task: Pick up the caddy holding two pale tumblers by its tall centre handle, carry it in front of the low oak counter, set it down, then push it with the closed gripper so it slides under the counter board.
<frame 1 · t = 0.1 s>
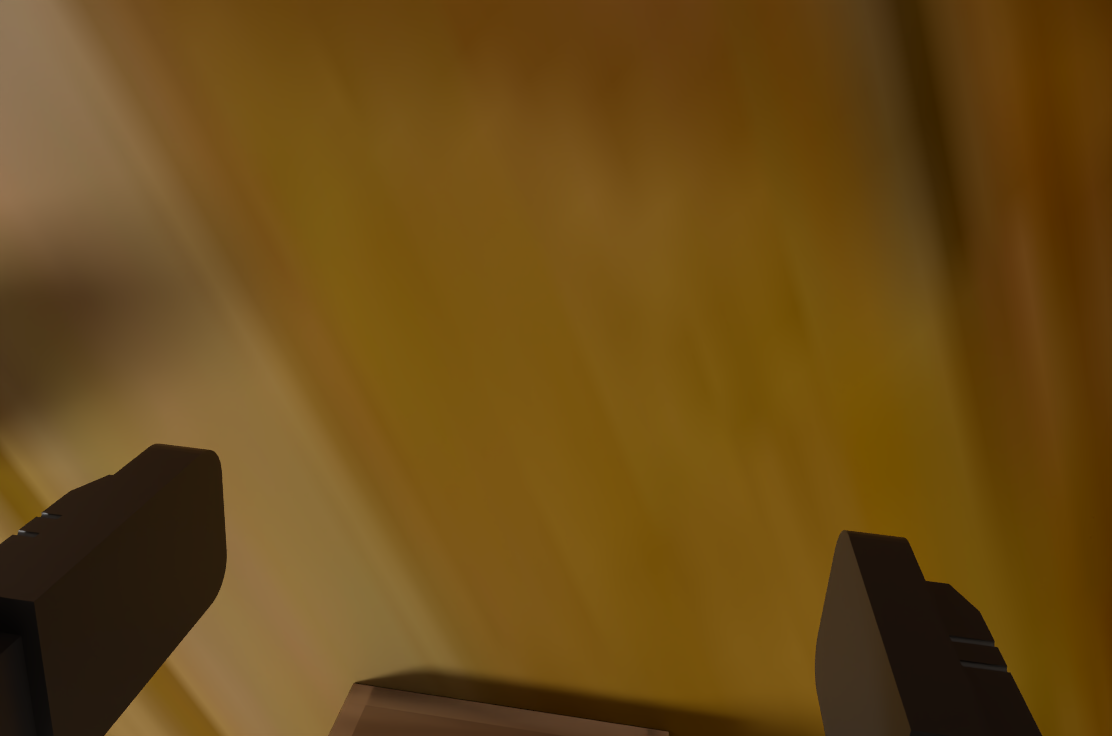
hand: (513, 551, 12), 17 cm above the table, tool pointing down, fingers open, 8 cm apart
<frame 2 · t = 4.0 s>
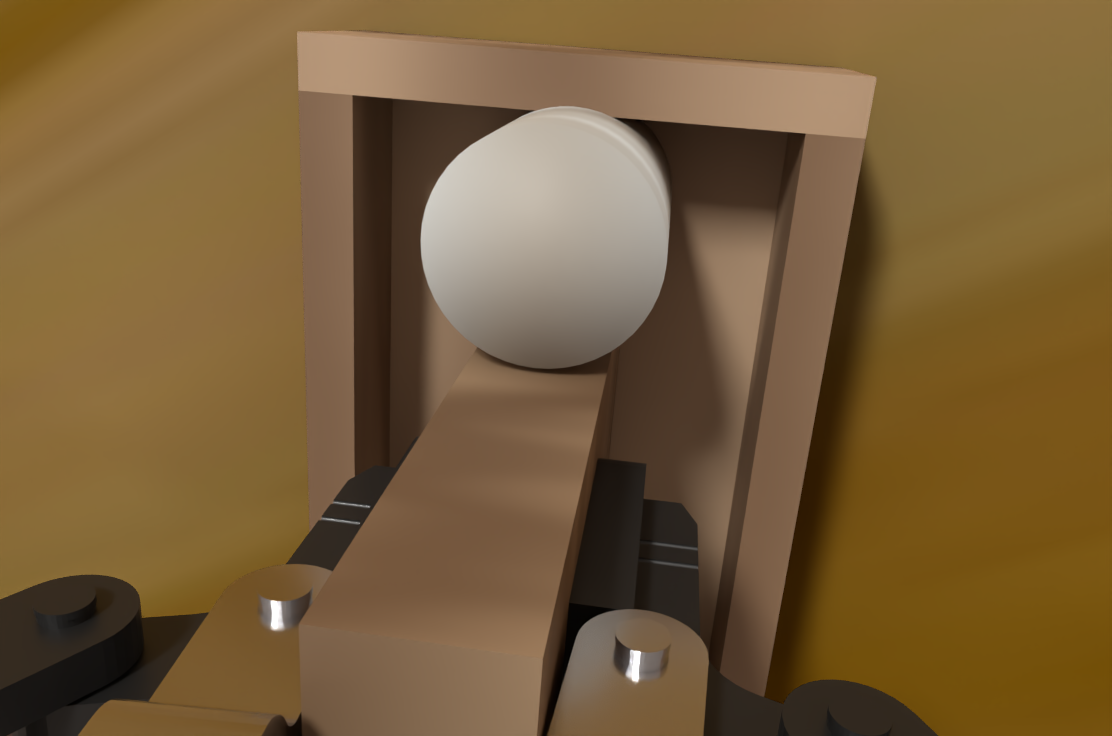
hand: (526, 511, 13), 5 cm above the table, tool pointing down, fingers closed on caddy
caddy: (570, 382, 18), on the table, touching gripper
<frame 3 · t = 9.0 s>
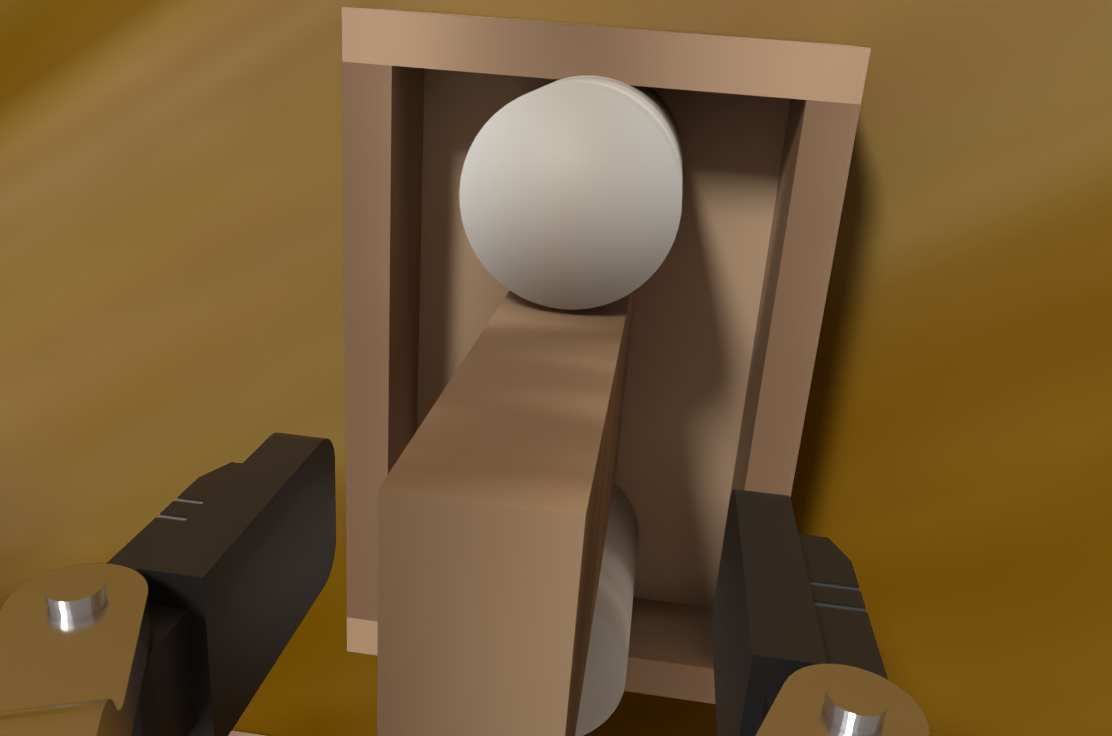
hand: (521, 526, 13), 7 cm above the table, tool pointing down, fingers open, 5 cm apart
caddy: (585, 341, 19), on the table
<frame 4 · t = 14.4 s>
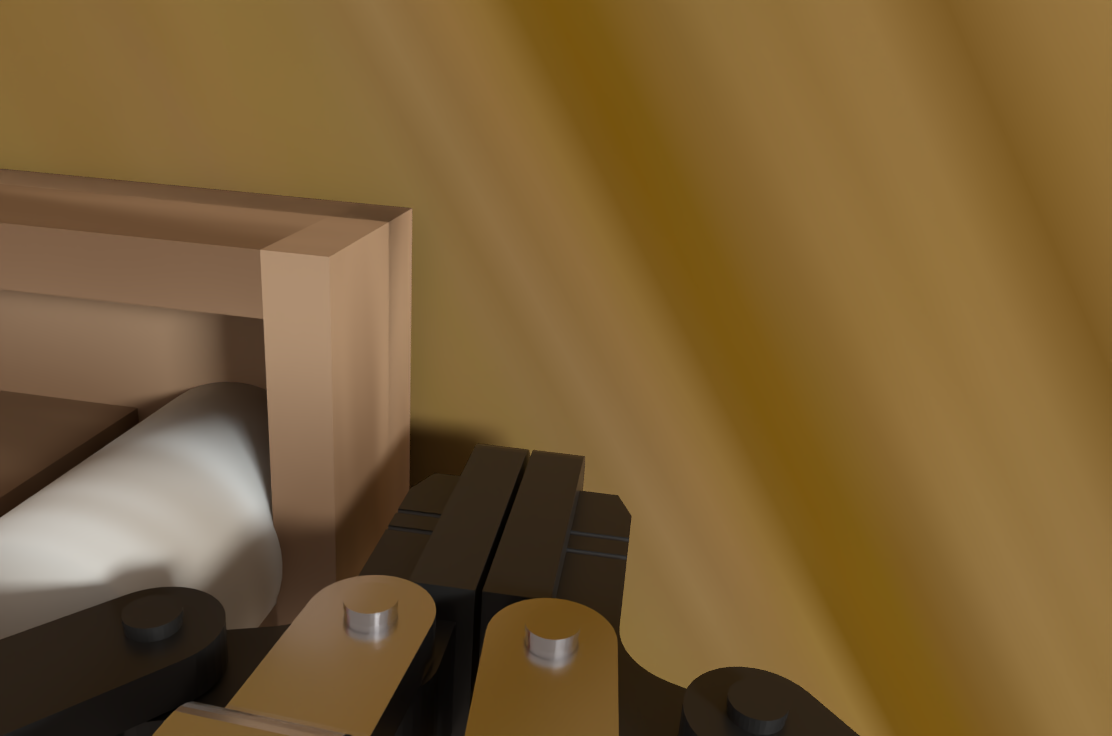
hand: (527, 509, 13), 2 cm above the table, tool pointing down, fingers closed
caddy: (51, 419, 15), on the table, touching gripper, hand
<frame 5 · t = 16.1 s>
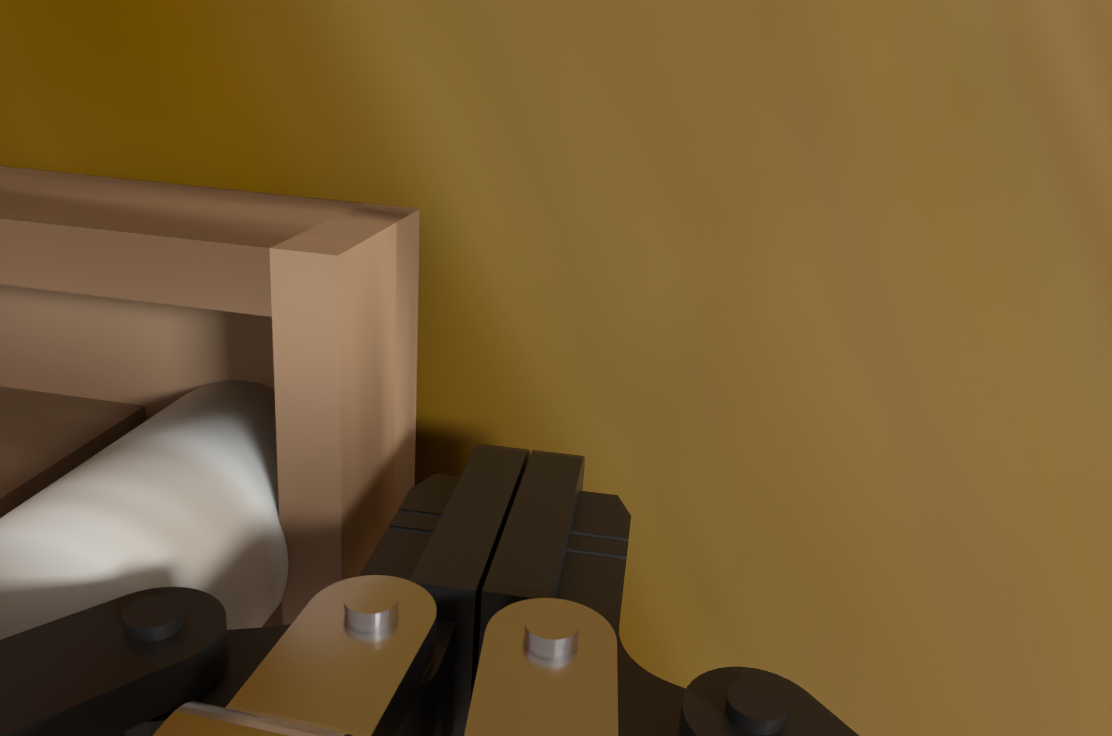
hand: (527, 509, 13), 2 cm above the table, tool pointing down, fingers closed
caddy: (59, 417, 15), on the table, touching gripper, hand
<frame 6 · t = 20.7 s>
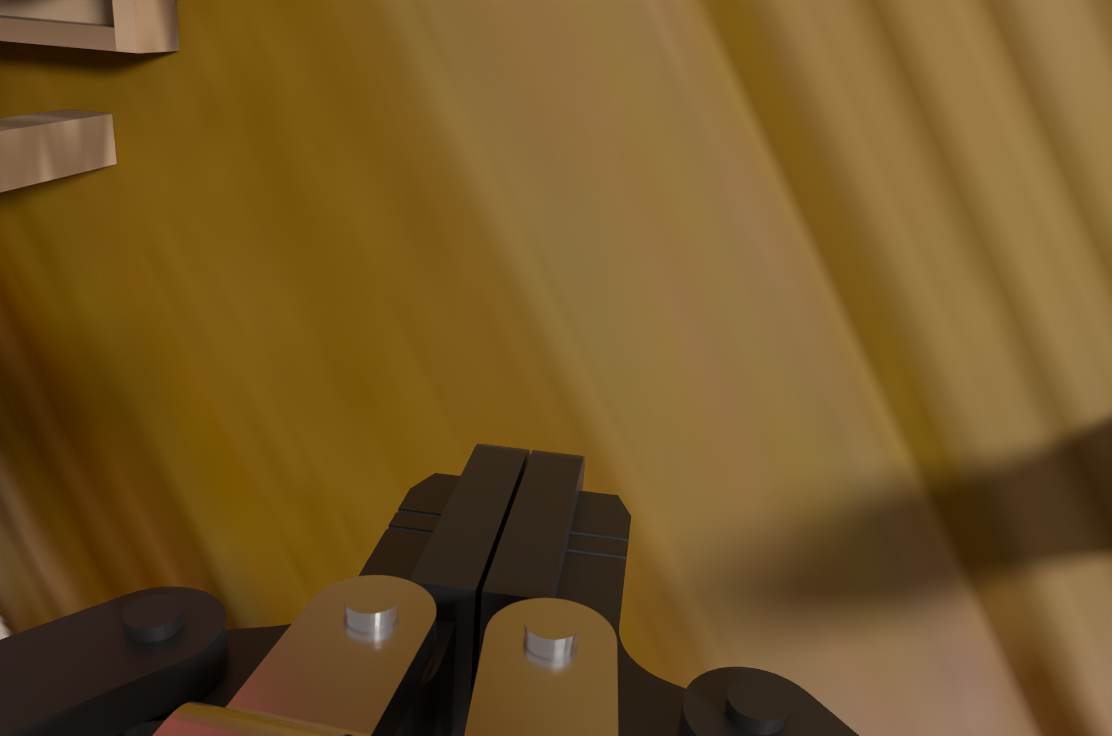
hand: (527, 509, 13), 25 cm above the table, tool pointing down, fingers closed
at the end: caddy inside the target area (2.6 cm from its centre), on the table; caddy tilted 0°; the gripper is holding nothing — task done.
